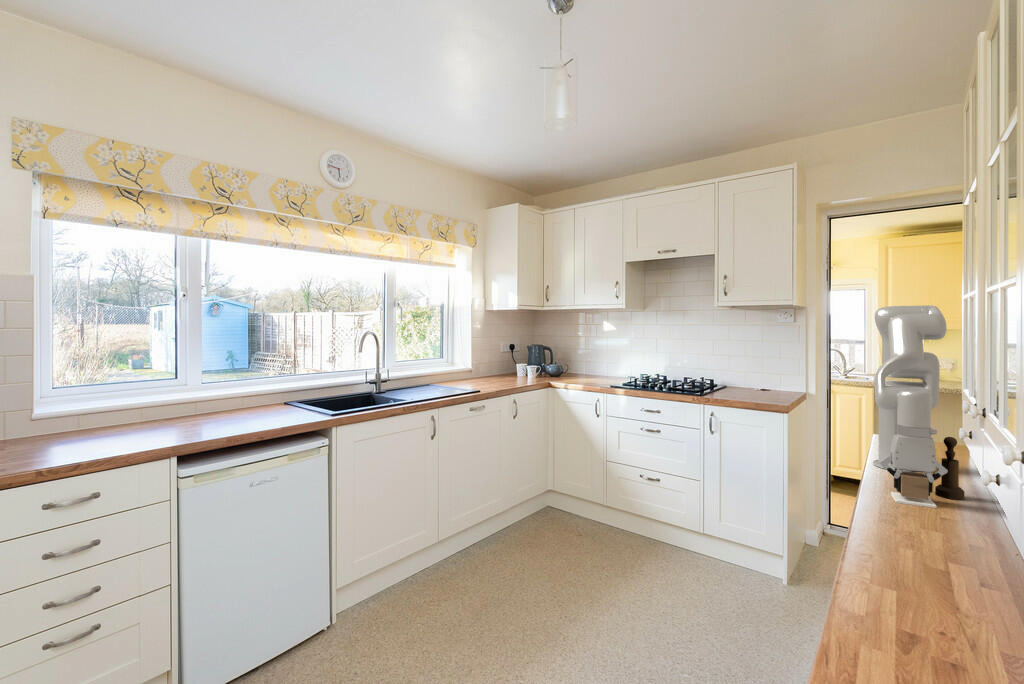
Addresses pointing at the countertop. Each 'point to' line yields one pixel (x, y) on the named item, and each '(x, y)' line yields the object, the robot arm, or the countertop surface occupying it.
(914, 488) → the walnut cube
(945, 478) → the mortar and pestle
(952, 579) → the countertop surface
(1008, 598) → the countertop surface
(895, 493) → the tile pad
